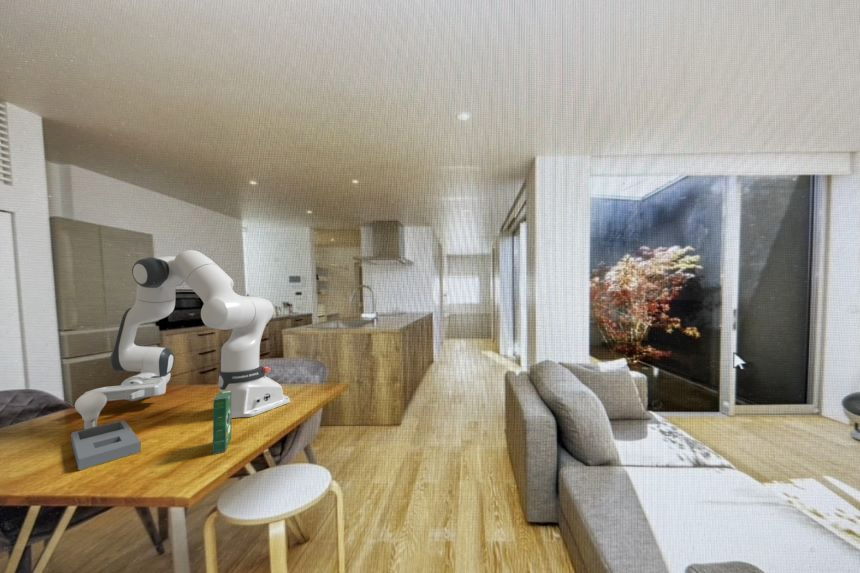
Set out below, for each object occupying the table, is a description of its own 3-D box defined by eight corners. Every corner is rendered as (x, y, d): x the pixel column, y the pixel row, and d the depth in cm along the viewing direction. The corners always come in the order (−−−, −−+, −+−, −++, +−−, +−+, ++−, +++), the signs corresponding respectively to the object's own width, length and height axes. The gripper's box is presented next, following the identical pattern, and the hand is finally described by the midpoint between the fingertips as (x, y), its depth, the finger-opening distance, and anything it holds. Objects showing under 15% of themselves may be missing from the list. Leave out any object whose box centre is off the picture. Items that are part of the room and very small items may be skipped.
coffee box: (219, 440, 79) (219, 390, 79) (232, 438, 80) (232, 389, 80) (211, 455, 71) (212, 399, 72) (225, 452, 72) (226, 397, 73)
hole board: (124, 428, 88) (124, 419, 88) (140, 451, 74) (141, 441, 74) (71, 441, 80) (71, 432, 80) (78, 471, 66) (78, 459, 66)
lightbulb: (109, 423, 92) (110, 387, 93) (102, 430, 87) (103, 392, 88) (79, 428, 89) (80, 391, 89) (69, 436, 84) (70, 396, 84)
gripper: (100, 382, 106) (68, 393, 93) (170, 375, 113) (149, 385, 99) (100, 399, 106) (67, 413, 93) (170, 392, 112) (149, 404, 99)
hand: (111, 398), depth 96 cm, fingers open, 8 cm apart
